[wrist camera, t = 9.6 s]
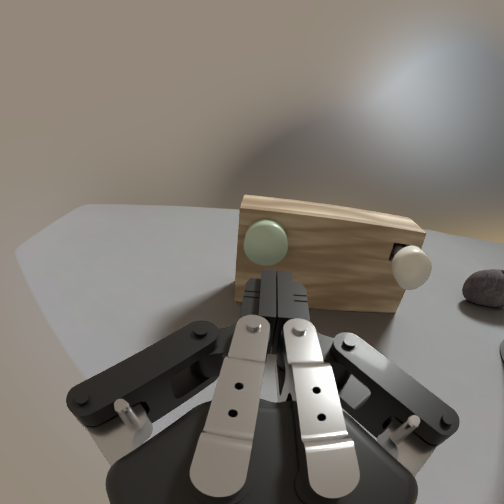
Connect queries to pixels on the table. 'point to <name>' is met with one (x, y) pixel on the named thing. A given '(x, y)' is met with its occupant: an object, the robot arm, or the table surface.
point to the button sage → (265, 242)
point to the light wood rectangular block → (331, 252)
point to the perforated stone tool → (485, 288)
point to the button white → (410, 266)
